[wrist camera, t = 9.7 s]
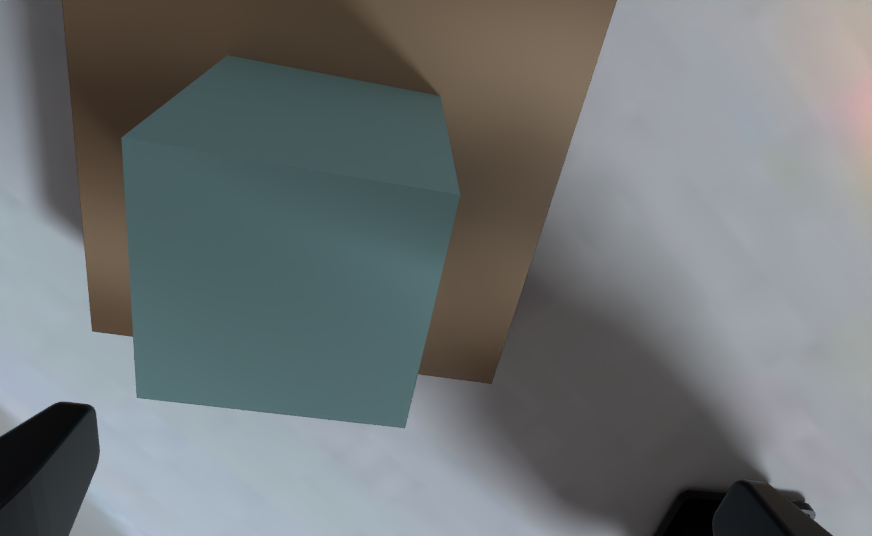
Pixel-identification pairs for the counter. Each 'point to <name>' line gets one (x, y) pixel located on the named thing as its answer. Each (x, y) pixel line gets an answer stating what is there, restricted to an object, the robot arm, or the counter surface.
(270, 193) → the teal block
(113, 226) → the walnut base
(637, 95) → the counter surface
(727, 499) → the robot arm
